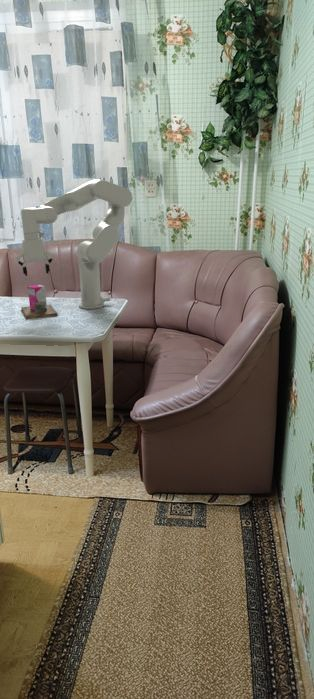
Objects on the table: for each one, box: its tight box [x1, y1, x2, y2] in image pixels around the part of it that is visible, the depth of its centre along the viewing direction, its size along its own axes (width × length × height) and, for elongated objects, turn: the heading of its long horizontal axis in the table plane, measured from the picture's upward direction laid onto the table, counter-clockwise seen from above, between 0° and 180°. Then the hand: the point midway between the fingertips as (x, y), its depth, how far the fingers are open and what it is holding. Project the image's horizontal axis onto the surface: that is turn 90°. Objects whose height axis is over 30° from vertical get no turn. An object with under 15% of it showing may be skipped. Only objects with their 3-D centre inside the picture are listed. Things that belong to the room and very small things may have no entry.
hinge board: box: [21, 302, 59, 320], centre depth 239 cm, size 14×18×6 cm
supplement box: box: [27, 284, 48, 311], centre depth 238 cm, size 6×6×12 cm
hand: (36, 274), depth 235 cm, fingers open, 9 cm apart
